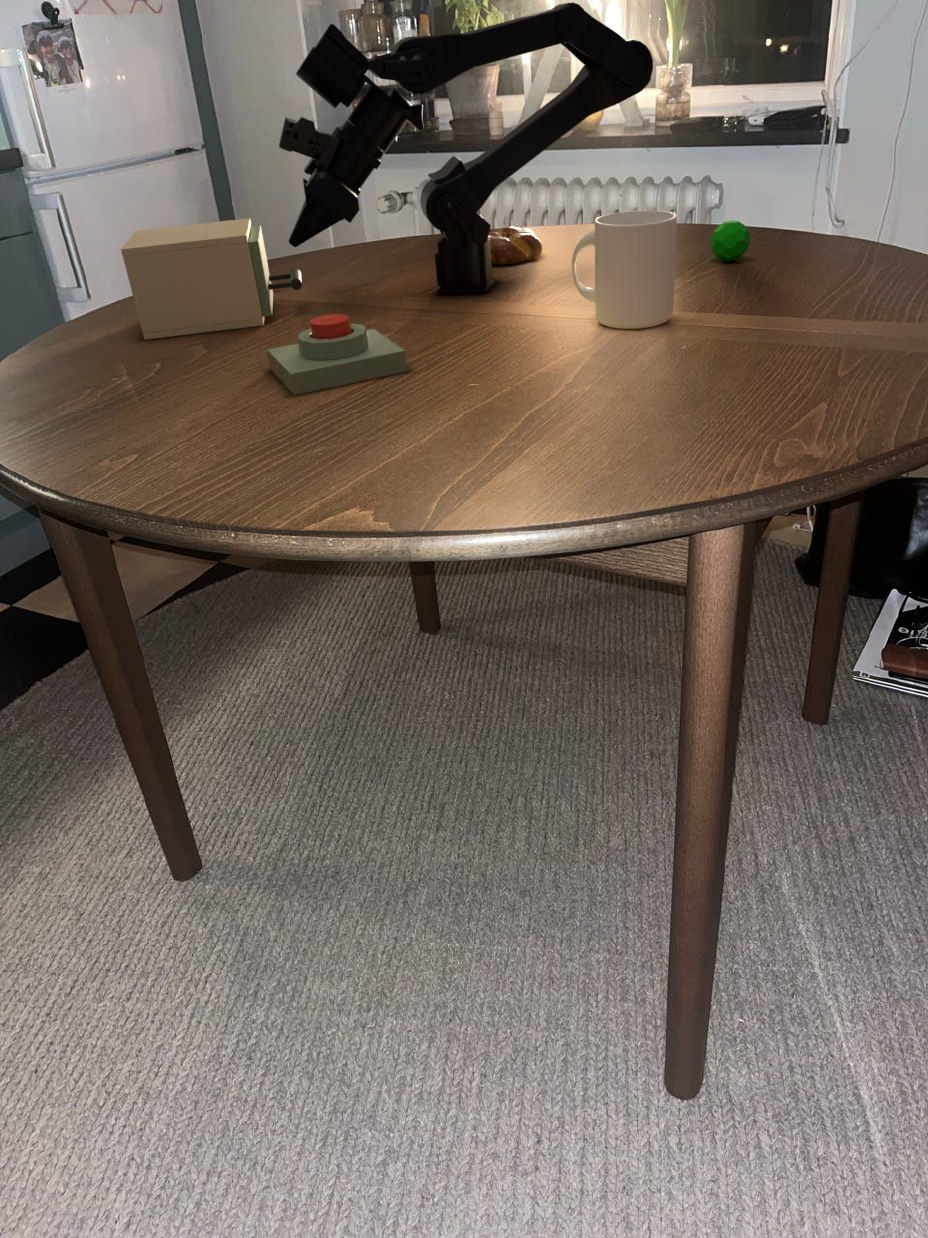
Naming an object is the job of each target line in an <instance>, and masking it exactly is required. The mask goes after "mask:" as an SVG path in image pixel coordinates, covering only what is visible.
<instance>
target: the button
mask: <svg viewBox="0 0 928 1238" xmlns="http://www.w3.org/2000/svg"><path fill="white" fill-rule="evenodd" d="M350 323H351V319H350V316H349V315H347V314H343V313H332V314H324V315H320V316H317V317H314V318H312V319H310V321H309V324H310V328H311V331H312V337H313V338H314V339H333V338H339V337H344V336H347V335H349V334H351V333H352V332H351V325H350Z"/></svg>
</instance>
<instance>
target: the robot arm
mask: <svg viewBox="0 0 928 1238" xmlns="http://www.w3.org/2000/svg"><path fill="white" fill-rule="evenodd" d="M558 45H561V46H563V47H564V48H565V49H566V50H567V51H568V52H569V53H570V54H572V56H574V57H575V58H576V59H577V60H578V61H579V62H580V63H581V64H583V66H582V67H581V69H580V70H579V72H578V73H577V74H576V76H575V77H574V78H573V80H572V81H571V83H570V84H569V85H568V86H567V87H566V88H565V89H563V90H562V91H561V92H560V93H559V94H557V95H556V96H554V98H552V99H551V100H550V101H548V102H547V103H545V104H544V105H543V106H542V107H540V108H539V109H537V110H536V111H535V112H534V113H532V114H531V115H530V116H529V117H528V118H527V119H525V120H523V122H521V123H520V124H519V125H517V126H516V127H515V128H513V129H512V130H511V131H509V132H508V133H507V134H506V135H504V136H503V137H502V138H501V139H500V140H498V141H497V142H496V143H494V144H493V145H491V146H490V147H489V148H488V149H486V150H485V151H484V152H482V153H481V154H480V155H478V156H477V157H476V158H473V159H471V160H470V161H467V162H463V160H462V159H460V158H459V157H457V155H453V156H451V157H450V158H449V159H448V160H447V162H446V163H444V165H443V166H442V167H441V168H439V169H438V170H437V171H434V172H431V173H428V175H427V176H428V178H429V179H430V180H428V182H426V184H424V185H423V188H422V189H421V192H420V197H419V198H420V199H419V203H420V209H421V211H422V214H423V215H424V217H425V218H426V219H427V221H428V222H429V223H430V224H431V225H432V226H433V227H434V229H437V230H438V231H439V232H440V234H441V235H442V236H443V237H442V238H440V239H439V240H438V241H437V252H436V253H435V254H434V262H435V274H436V284H437V286H438V287H439V288H438V289H437V294H439V295H441V294H443V295H444V294H446V295H447V294H484V293H486V292H488V291H489V290H490V289H491V288H492V287H493V285H494V284H496V282H497V277H493V266H492V265H493V264H491V248H490V236H489V232H490V233H491V226H492V225H491V224H490V223H489V222H488V221H486V219H484V217H482V216H481V214H479V211H480V210H481V209H482V208H483V206H484V205H485V203H486V202H487V201H488V199H489V198H490V196H491V195H492V194H493V192H494V191H495V190H496V189H497V188H498V186H500V185H501V184H502V183H504V182H505V181H506V180H508V179H510V178H511V177H512V176H513V175H514V174H516V173H517V172H518V171H519V170H521V169H522V168H523V167H524V166H526V165H527V164H528V163H530V162H531V161H533V160H534V159H535V158H536V157H538V156H539V155H540V154H541V153H543V152H544V151H545V150H547V149H549V147H551V146H552V145H554V143H556V142H557V141H558V140H560V139H561V138H563V137H565V135H567V134H568V133H569V132H570V131H571V130H573V129H574V128H575V127H577V126H578V125H580V124H581V123H582V122H583V121H584V120H586V119H587V118H589V117H590V116H592V115H594V114H597V113H599V112H602V111H604V110H607V109H609V108H611V107H614V106H616V105H618V104H620V103H622V102H624V101H626V100H628V99H630V98H632V97H633V96H635V95H638V94H639V93H641V92H643V90H644V89H645V88H647V86H649V83H650V82H651V80H652V74H653V71H654V59H653V55H652V52H651V51H650V49H649V48H648V46H647V45H646V44H645V43H644V42H643V41H639V40H637V39H625V38H623V36H621V35H620V34H619V33H618V32H616V31H615V30H613V29H611V28H610V27H608V26H607V25H605V24H604V23H603V22H601V21H600V20H598V19H596V18H595V17H594V16H592V15H591V14H589V13H588V12H587V11H586V10H585V8H584V7H582V6H581V5H580V3H579V4H578V3H576V2H565V3H559V4H557V5H556V6H554V7H552V8H550V9H546V10H542V11H538V12H536V13H532V14H528V15H525V16H521V17H517V18H514V19H509V20H507V21H503V22H499V23H495V24H491V25H488V26H485V27H480V28H478V29H474V30H470V31H466V32H462V33H460V32H459V33H445V34H431V35H429V34H428V35H413V36H412V35H411V36H405V37H404V38H402V39H400V40H399V41H397V42H396V44H394V46H393V47H392V50H391V52H388V53H384V54H381V55H378V54H373V55H372V56H371V57H370V58H368V57H367V56H366V55H364V54H363V52H361V51H360V50H359V49H358V48H357V47H356V46H355V44H353V43H352V42H351V41H349V39H347V38H346V36H345V35H344V34H343V32H342V31H341V30H340V28H339V27H337V26H336V25H335V24H334V23H330V24H329V25H328V27H327V28H326V30H325V31H324V33H323V34H322V35H321V37H320V39H319V40H318V41H317V43H316V44H315V46H312V47H311V49H310V50H309V52H308V54H307V55H306V57H305V58H304V60H303V62H302V63H301V64H300V66H299V68H298V70H297V71H296V73H295V75H296V76H297V77H298V78H299V79H301V80H302V82H304V83H305V84H306V85H307V86H308V87H309V88H311V90H312V91H314V92H315V93H316V94H317V95H318V96H320V97H321V98H322V99H323V100H324V101H325V102H326V103H327V104H329V105H330V106H331V107H332V108H334V109H336V108H338V106H339V105H340V104H342V105H343V106H344V107H345V108H346V109H348V108H349V107H350V106H351V104H353V102H354V101H355V99H356V98H357V96H358V95H359V93H360V92H361V90H362V89H363V87H364V86H365V84H367V85H368V88H367V89H366V91H365V92H364V94H362V96H361V98H360V99H359V100H358V102H357V104H356V105H355V107H354V108H353V110H352V111H351V113H350V114H349V116H348V117H347V119H346V120H345V122H344V123H343V124H342V125H339V126H336V127H335V128H334V130H333V131H332V133H329V132H326V131H324V130H321V129H319V128H316V125H315V121H314V120H310V119H308V118H305V117H304V116H300V118H299V119H298V120H295V119H292V118H290V117H289V118H288V117H285V118H284V121H283V126H282V131H281V134H280V139H279V143H278V147H279V149H282V150H284V151H285V152H286V151H287V152H289V153H291V152H294V153H298V154H299V155H303V156H305V157H308V158H310V160H309V161H308V162H307V164H306V166H305V167H304V169H303V172H304V173H305V174H306V175H309V176H310V177H309V178H308V180H307V179H306V178H304V177H303V178H302V185H303V191H304V197H305V199H304V201H303V204H302V207H301V209H300V212H299V214H298V216H297V219H296V220H295V221H296V222H295V224H294V226H293V229H292V231H291V233H290V236H289V238H288V243H289V244H290V246H292V247H293V248H298V247H299V246H301V245H302V244H304V243H306V242H307V241H309V240H310V239H312V238H314V237H315V236H317V235H318V234H320V233H322V232H324V231H325V230H327V229H329V228H330V227H332V226H334V225H336V224H338V223H339V222H341V221H344V220H345V221H347V223H349V224H351V223H352V222H353V220H354V219H355V218H356V216H357V214H358V213H359V211H360V204H359V203H360V202H359V196H360V194H361V192H362V191H361V188H362V187H363V186H364V184H365V183H366V181H367V180H368V178H369V177H370V176H371V174H372V172H374V170H378V168H379V167H380V165H381V164H382V161H381V160H382V158H383V157H384V155H385V154H386V152H388V150H389V148H390V147H391V145H392V144H393V143H394V141H395V140H396V138H397V137H398V136H399V134H400V132H401V131H402V130H403V128H404V127H405V125H406V124H407V122H409V123H410V124H411V125H412V126H413V127H414V128H415V129H417V130H419V131H423V130H424V129H425V124H424V120H423V111H424V105H423V104H421V103H415V104H412V103H411V102H410V101H409V100H408V99H406V97H404V96H403V95H402V94H401V93H400V92H399V91H398V90H397V89H395V87H392V88H391V89H390V90H389V91H388V92H387V93H386V92H385V91H384V90H383V89H381V87H379V86H378V85H377V84H376V83H375V82H374V81H373V80H372V79H371V78H370V77H368V76H367V75H366V73H367V72H369V73H371V74H372V75H373V76H375V78H378V79H381V80H386V81H393V82H395V83H396V85H397V86H398V87H400V88H401V89H402V90H404V91H406V92H409V93H412V94H417V95H418V94H420V95H421V94H426V93H429V92H430V91H431V92H432V91H433V90H435V89H437V88H439V87H440V86H442V85H445V84H447V83H449V82H450V81H453V80H454V79H456V78H457V77H460V76H461V75H462V74H465V73H466V72H468V71H470V70H473V69H474V68H477V67H481V66H485V65H488V64H492V63H496V62H499V61H502V60H503V61H504V60H506V59H510V58H513V57H514V58H515V57H517V56H521V55H525V54H528V53H531V52H532V53H533V52H536V51H539V50H544V49H546V48H550V47H555V46H558Z"/></svg>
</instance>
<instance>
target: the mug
mask: <svg viewBox="0 0 928 1238" xmlns="http://www.w3.org/2000/svg"><path fill="white" fill-rule="evenodd" d="M677 220H678V216H677V214H676V213H675V212H672V211H667V210H660V209H659V210H658V209H638V210H637V209H636V210H624V211H616V212H612V213H611V212H610V213H607V214H604V215H600V216H598V217H596V218H595V219H594V229H593V230H591V231H589V232H587V233H586V234H585V235H584V236H583V237H581V239H580V240H579V241H578V242H577V244H576V246H575V248H574V250H573V254H572V258H571V268H572V269H571V272H572V277H573V278H572V279H573V282H574V286H575V288H576V290H577V291H578V293H579V294H580V295H581V297H582V298H584V299H585V300H586V301H588V302H589V303H592V304H594V310H595V318H596V320H597V322H598V323H599V324H601V325H603V326H605V327H607V328H608V327H609V328H613V329H619V330H620V329H622V330H634V329H635V330H637V329H647V328H652V327H655V326H659V325H662V324H665V323H667V322H668V321H669V320H670V319H671V317H672V316H673V312H674V305H675V303H674V301H675V278H676V277H675V275H676V250H677V249H676V248H677V223H678V222H677ZM592 247H594V287H588V286H586V285H584V284H583V283H582V282H581V280H580V279H579V277H578V273H577V261H578V259H579V256H580V255H581V253H583V252H584V250H586V249H589V248H592Z"/></svg>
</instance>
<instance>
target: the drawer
mask: <svg viewBox="0 0 928 1238" xmlns="http://www.w3.org/2000/svg"><path fill="white" fill-rule="evenodd" d="M248 243H249V249H250V254H251V259H252V264H253V269H254V275H255V280H256V285H257V290H258V296H259V301H260V306H261V311H262V316H263V317H264V318H265V317H272V316H273V309H274V307H273V306H274V290H278V289H285V288H287V289H288V288H292V290H294V291H299V290H300V289H302V287H303V278H302V271H300V269H298V268H294V269H292V270H291V271H290V272H287V273H278V274H271V275H270V269H269V264H268V258H267V253H266V247H265V241H264V236H263V231H262V225H260V224H259V225H251V231H250V236H249V242H248ZM282 280H283V281H282ZM284 280H290V281H284ZM274 281H281V282H274ZM272 282H274V283H272Z"/></svg>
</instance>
